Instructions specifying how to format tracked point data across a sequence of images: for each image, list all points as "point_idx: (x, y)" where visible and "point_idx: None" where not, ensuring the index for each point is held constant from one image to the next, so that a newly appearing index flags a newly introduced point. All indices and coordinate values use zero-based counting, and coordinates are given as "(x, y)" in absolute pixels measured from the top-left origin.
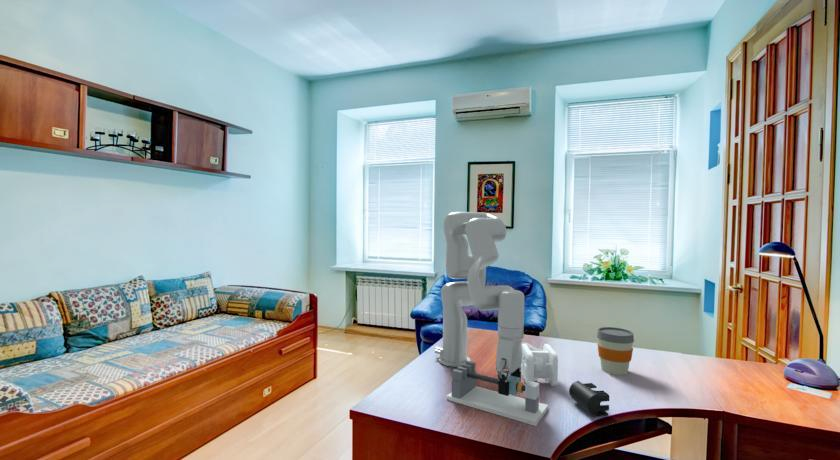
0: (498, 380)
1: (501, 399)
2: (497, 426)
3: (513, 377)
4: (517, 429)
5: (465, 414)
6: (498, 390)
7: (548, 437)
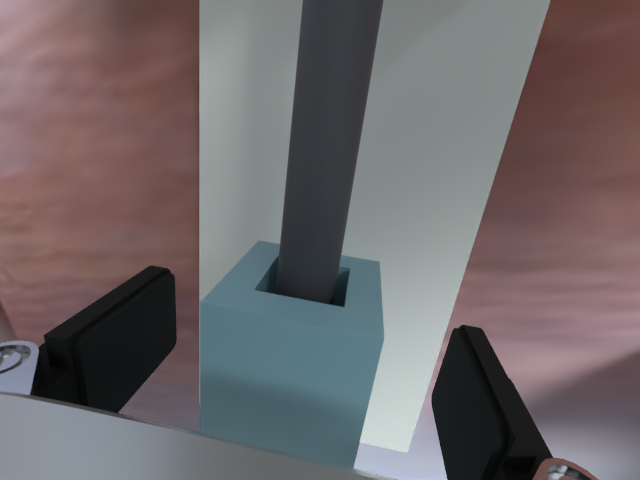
0: (8, 347)
1: (365, 215)
2: (102, 243)
3: (315, 445)
4: None
5: (99, 28)
6: (140, 277)
7: None
